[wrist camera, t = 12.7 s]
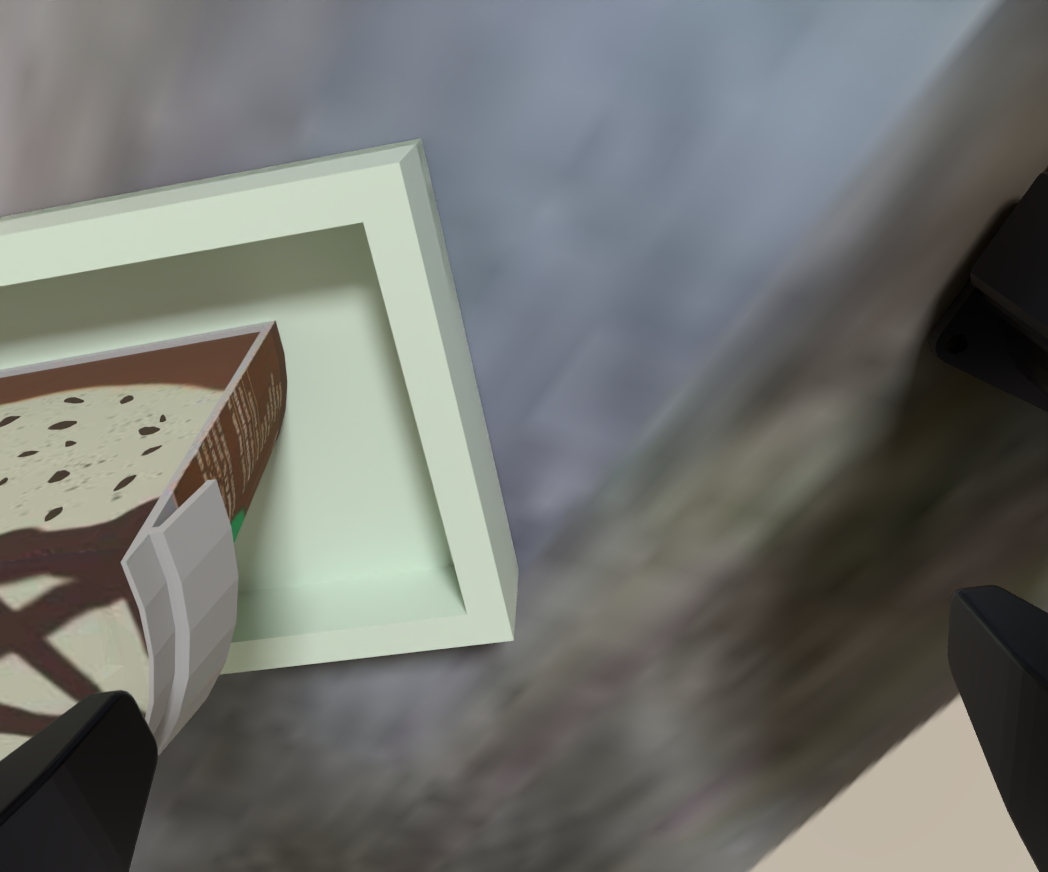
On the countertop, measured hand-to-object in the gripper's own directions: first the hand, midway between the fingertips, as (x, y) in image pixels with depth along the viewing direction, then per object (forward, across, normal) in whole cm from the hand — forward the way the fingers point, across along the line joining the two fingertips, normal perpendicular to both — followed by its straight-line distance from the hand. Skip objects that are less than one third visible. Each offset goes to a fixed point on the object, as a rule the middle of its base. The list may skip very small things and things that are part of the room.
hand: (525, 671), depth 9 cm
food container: (+12, +11, +2) cm, 17 cm away
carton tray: (+13, +11, +2) cm, 17 cm away
